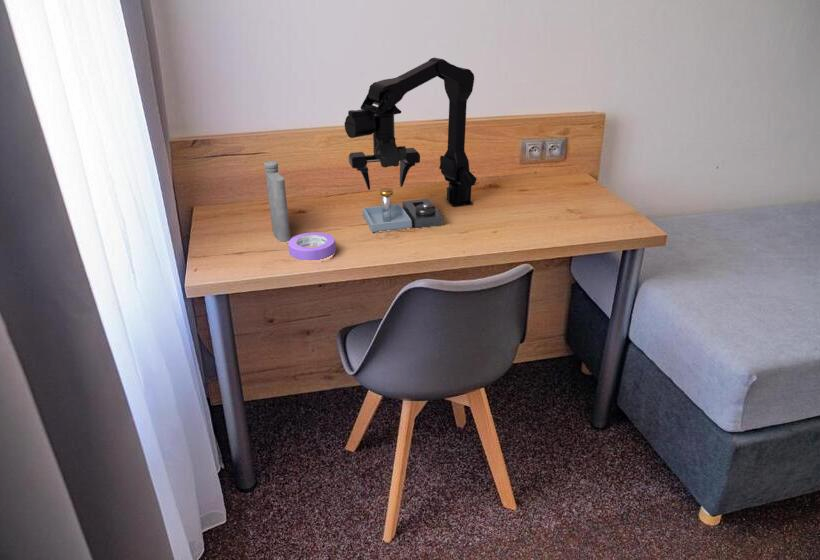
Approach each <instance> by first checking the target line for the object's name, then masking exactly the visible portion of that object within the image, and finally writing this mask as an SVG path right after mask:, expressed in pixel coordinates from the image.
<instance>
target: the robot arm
mask: <svg viewBox="0 0 820 560" xmlns="http://www.w3.org/2000/svg"><path fill="white" fill-rule="evenodd" d="M435 78H439V79H441V80H443V86H444V90H445V94H446V96H447V98H448V101H449V102H448V126H447V127H448V128H447V150H446V152H445V153H444V154H443V155H440V157H439V161H440V162H439V164H440V165H439V168H438V169H439V170H440V172H441V174H442V176H444V180H445V182H448V187H446V198H445V199H446V201H447V202H448V203H449V204H450V205H451V206H452V207H460V206H461V207H462V206H470V205H471V206H472V205H473V204H474V202H473V201H472V186H475V185H476V181H477V177H476V176H475V175H474V174H473V173H472V172H471V171H470V162H469V159H468V156H467V154H466V152H465V145H466V122H467V104H468V100H469V99H470V96H471V94H472V93H473V89H474V83H475V75H474V73H473V71H472V70H471V69H468V68H465V67H461V66H457V65H455V64H452V63H450V62H448V61H447V60H445V59H443V58H439V57H432V58H429V60H427V61H425V62H423V63H422V64H419V65H418V66H416V67H414V68H413V69H410V70H408V71H407V72H404V73H403V74H400V75H398V76H396V77H393V78H387V79H381V80H378V81H375V82H373V83H372V84H370V86H369V87H368V93H367V95H366V97H365V98H364V100H363V101H362V104H361V106H360V109H356V110H353V109H352V110H348V111H347V112H348V115H347V116H346V117H345V122H344V130H345V133H346V134H347V137H349V139H355V138H356V139H357V138H360V137H367V136H371V135H372V139H373V140H372V142H373V143H372V144H373V145H372V146H373V150H372V151H373V154H371V155H370V154H369V155H366V154H365V153H364V151H357V152H350V153H349V155H348V164H349V165H350V167H351V168H352V169H356V170H357V171H358V172H360V173H361V174H362V177H363V179H364V182H365V184H366V188H367V190H368V191H370V190H371V184H370V176H369V168H368V166H367V165H368V163H380V166H381V167H382V168H388V167H398V166H399V186H400V187H401V188H403V186H404V184H405V180H406V178H407V174H408V173H409V171H410V169H411V168H412V167H416V164H419V163H421V155H420V153H419V152H418V151H417V149H415V148H414V147H406V146H405V145H402V146H400V145H399V146H397V143H396V135H395V115H398V114H401V113H402V110H401V109H399V108H398V106H397V104H398V103H400V102H401V101H402V100H403V99H404V96H405V95H406V94H407V93H409V92H410V91H413V90H414V89H416V88H418V87H420V86H421V85H423V84H425V83H427V82H430V81H431V80H433V79H435Z"/></svg>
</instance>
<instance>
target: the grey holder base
mask: <svg viewBox="0 0 820 560" xmlns="http://www.w3.org/2000/svg"><path fill="white" fill-rule="evenodd" d="M401 203H402V208H403V209H404V210H405V212H406V213H407V215H408V216H409V217H410V219H411V220H412V224H413V225H412V227H413V228H414V227H415V228H419V229H423V228H422V227H427V228H432V227H431V226H436V227H442V226H441V225H444V224H443V223H444V222H443V220H444V215H443V214H442V213H441V212H440V211H439V209H438V208H437V207H436V205H434V204H433V203H432V201H431V200H430V199H429V198H424V199H413V200H405V201H404V200H403V201H402V202H401ZM415 228H414V229H415Z"/></svg>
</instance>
